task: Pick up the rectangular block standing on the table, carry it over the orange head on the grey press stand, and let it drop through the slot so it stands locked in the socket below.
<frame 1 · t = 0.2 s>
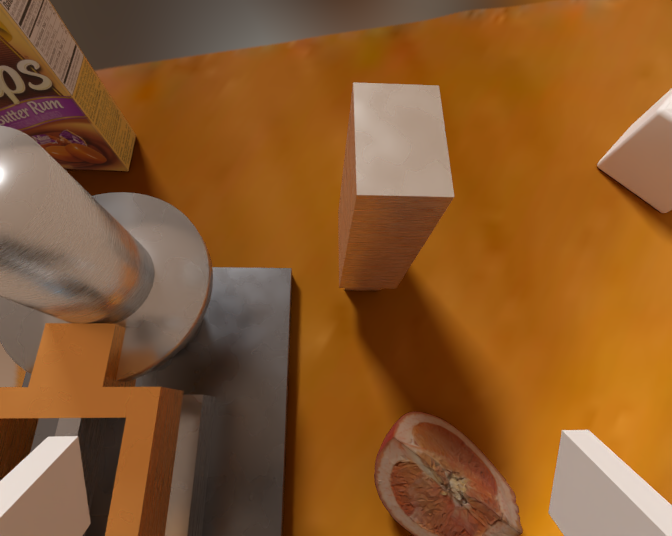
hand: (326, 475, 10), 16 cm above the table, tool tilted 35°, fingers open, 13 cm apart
rectangular block: (361, 264, 30), on the table
grey press stand: (151, 479, 24), on the table
candy box: (83, 155, 33), on the table
fruit slice: (427, 474, 25), on the table
medicine bottle: (644, 169, 36), on the table
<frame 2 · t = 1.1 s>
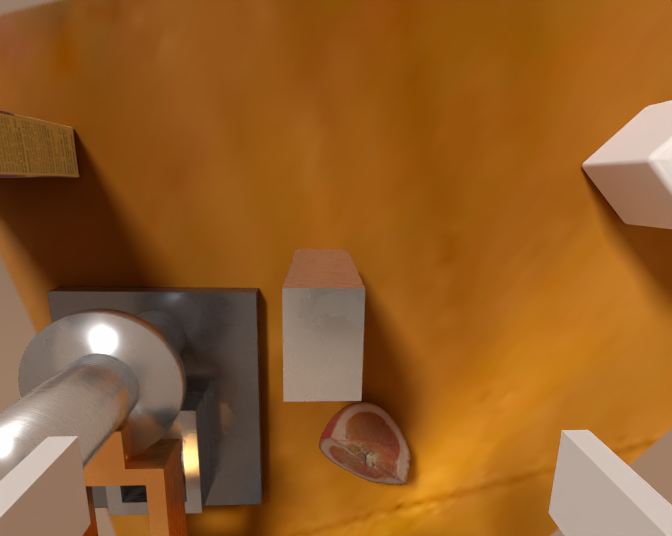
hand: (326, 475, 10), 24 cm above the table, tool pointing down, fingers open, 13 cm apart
rectangular block: (321, 277, 34), on the table
grey press stand: (171, 430, 36), on the table
candy box: (24, 153, 31), on the table
fruit slice: (360, 426, 37), on the table
medicine bottle: (632, 167, 33), on the table
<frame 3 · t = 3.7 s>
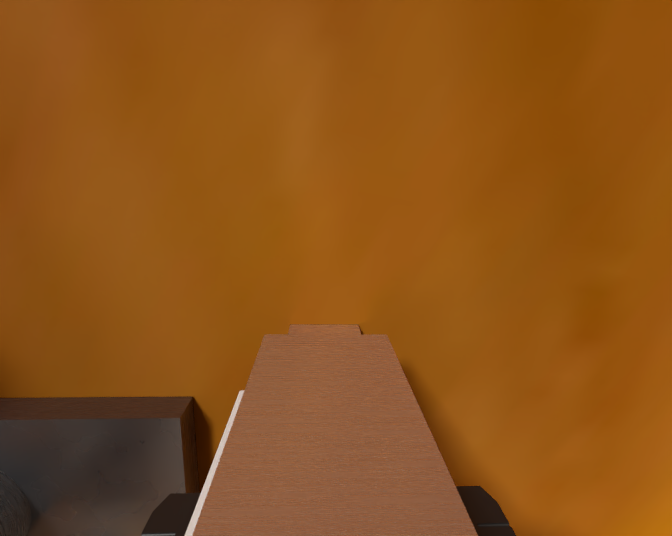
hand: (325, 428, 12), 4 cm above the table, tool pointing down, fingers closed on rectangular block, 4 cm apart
rectangular block: (323, 373, 16), on the table, touching gripper
when the fingers open (13 cm above the table, at t = 9.6 s): rectangular block drops 8 cm, resting on grey press stand.
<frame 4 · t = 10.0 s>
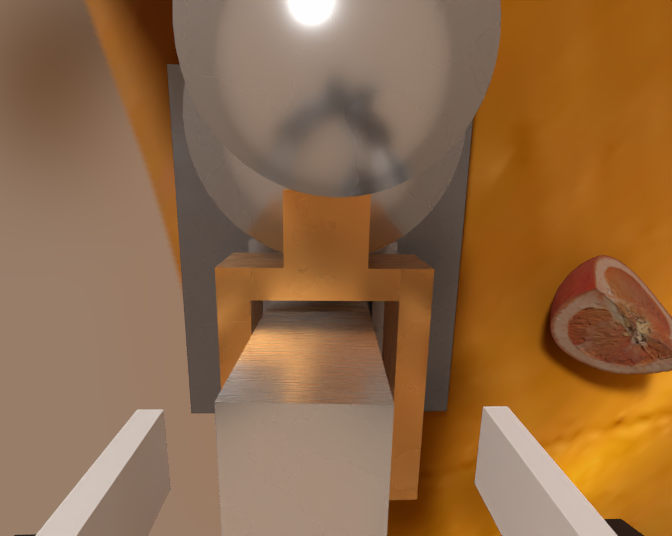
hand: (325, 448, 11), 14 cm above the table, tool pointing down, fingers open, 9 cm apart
rectangular block: (323, 311, 24), point 2 cm above the table, touching grey press stand
grey press stand: (321, 304, 25), on the table
fruit slice: (580, 304, 26), on the table
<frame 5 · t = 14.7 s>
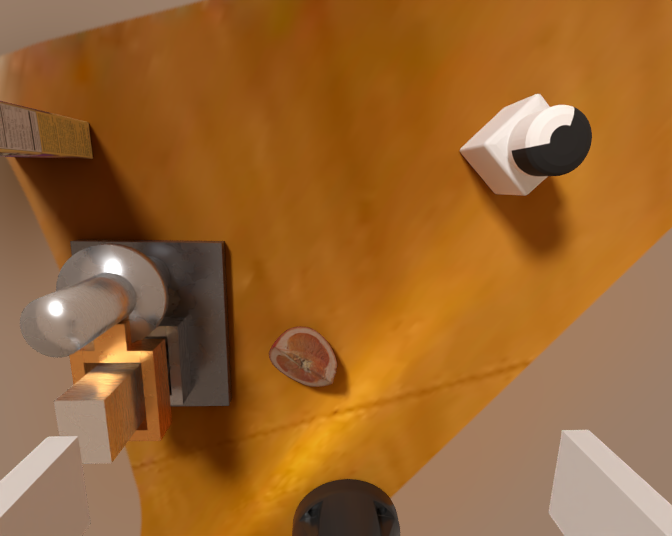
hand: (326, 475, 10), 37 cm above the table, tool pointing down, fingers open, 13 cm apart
rectangular block: (157, 354, 47), point 1 cm above the table, touching grey press stand
grey press stand: (161, 349, 48), on the table
candy box: (53, 141, 42), on the table
fruit slice: (304, 348, 49), on the table
medicine bottle: (498, 151, 45), on the table
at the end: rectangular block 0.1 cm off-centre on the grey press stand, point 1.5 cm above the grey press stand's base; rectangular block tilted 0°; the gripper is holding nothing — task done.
